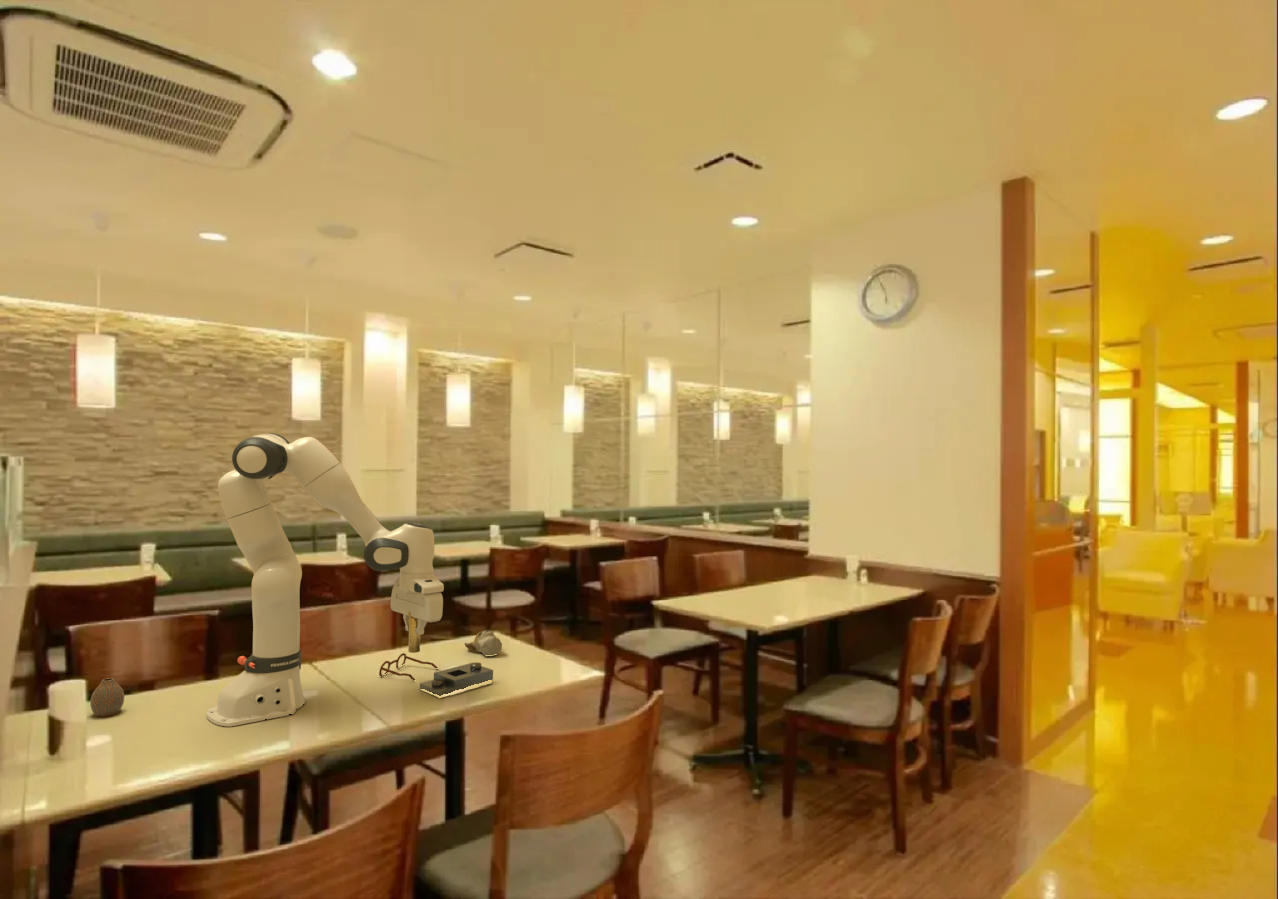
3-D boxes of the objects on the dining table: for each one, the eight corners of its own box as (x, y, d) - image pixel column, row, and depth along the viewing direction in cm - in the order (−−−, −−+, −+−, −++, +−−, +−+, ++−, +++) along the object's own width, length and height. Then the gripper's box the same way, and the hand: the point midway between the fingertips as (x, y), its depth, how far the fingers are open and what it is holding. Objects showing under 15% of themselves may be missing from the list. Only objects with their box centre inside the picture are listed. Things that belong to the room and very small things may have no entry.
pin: (411, 654, 195) (413, 613, 195) (403, 651, 197) (404, 610, 197) (424, 651, 198) (426, 611, 198) (416, 648, 200) (417, 608, 200)
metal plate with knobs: (440, 699, 198) (440, 680, 198) (419, 690, 205) (420, 672, 205) (492, 683, 212) (493, 666, 212) (472, 676, 218) (472, 658, 218)
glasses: (403, 667, 227) (403, 651, 227) (440, 671, 224) (440, 655, 224) (377, 679, 214) (378, 663, 214) (416, 684, 211) (417, 667, 211)
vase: (84, 720, 178) (85, 684, 178) (97, 710, 184) (98, 675, 184) (117, 718, 180) (117, 682, 180) (128, 708, 186) (129, 674, 186)
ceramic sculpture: (479, 633, 233) (462, 626, 246) (479, 661, 233) (462, 652, 245) (510, 630, 239) (492, 623, 252) (509, 656, 239) (492, 648, 251)
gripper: (385, 577, 202) (383, 627, 202) (427, 589, 188) (425, 642, 188) (405, 575, 207) (404, 623, 207) (447, 586, 193) (445, 637, 193)
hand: (414, 632), depth 197 cm, fingers closed on pin, 3 cm apart
